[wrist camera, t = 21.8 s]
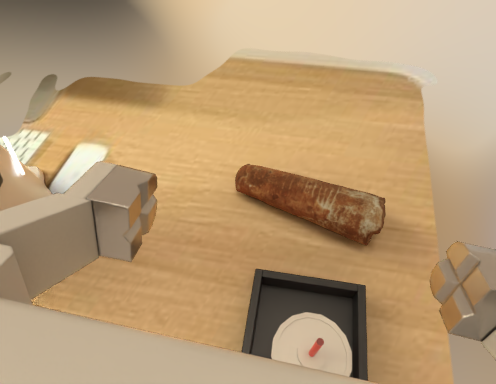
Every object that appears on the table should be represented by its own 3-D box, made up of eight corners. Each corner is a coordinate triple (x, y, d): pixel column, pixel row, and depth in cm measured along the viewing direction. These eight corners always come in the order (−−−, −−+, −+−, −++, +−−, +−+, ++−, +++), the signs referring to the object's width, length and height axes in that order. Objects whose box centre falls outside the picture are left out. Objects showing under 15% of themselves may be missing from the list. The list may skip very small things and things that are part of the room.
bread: (367, 256, 39) (381, 234, 34) (229, 197, 45) (224, 172, 40) (382, 214, 42) (396, 190, 37) (250, 164, 48) (248, 137, 43)
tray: (226, 457, 29) (222, 461, 27) (256, 277, 38) (255, 268, 36) (361, 489, 28) (370, 496, 25) (358, 293, 37) (365, 285, 34)
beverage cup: (324, 416, 30) (360, 417, 18) (261, 388, 32) (258, 373, 20) (339, 347, 33) (377, 312, 22) (281, 325, 35) (287, 280, 23)
